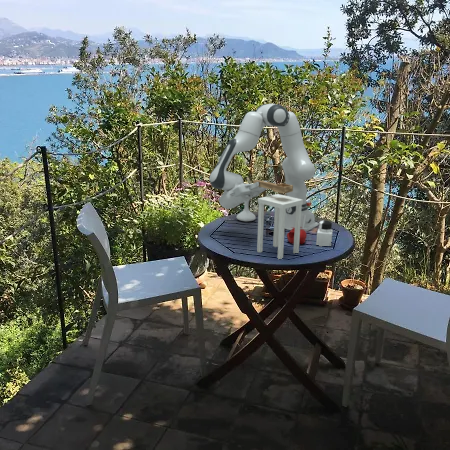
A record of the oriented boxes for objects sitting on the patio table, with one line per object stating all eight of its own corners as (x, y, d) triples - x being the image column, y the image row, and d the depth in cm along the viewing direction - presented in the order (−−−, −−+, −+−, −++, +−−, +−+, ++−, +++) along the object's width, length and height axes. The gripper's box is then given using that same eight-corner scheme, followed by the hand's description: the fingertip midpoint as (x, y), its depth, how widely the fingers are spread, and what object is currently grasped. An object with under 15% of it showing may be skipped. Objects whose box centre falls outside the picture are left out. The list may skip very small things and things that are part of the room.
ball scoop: (259, 184, 219) (259, 178, 219) (292, 191, 205) (293, 185, 204) (250, 186, 215) (250, 180, 214) (283, 193, 201) (284, 187, 200)
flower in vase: (254, 223, 260) (256, 180, 252) (235, 222, 261) (235, 179, 254) (256, 217, 272) (258, 176, 265) (238, 216, 274) (238, 175, 266)
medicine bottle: (331, 242, 229) (333, 220, 225) (330, 247, 222) (332, 224, 219) (317, 241, 231) (318, 219, 227) (316, 246, 224) (317, 222, 221)
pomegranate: (304, 239, 234) (306, 222, 231) (307, 246, 224) (308, 228, 221) (285, 239, 234) (286, 221, 231) (287, 245, 224) (288, 227, 222)
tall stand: (275, 245, 225) (277, 194, 217) (299, 253, 214) (303, 199, 207) (256, 251, 216) (258, 198, 208) (280, 260, 205) (283, 204, 198)
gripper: (225, 189, 218) (244, 179, 207) (255, 184, 231) (273, 174, 221) (230, 202, 217) (248, 192, 207) (259, 195, 231) (277, 186, 220)
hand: (261, 182), depth 214 cm, fingers closed on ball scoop, 2 cm apart
